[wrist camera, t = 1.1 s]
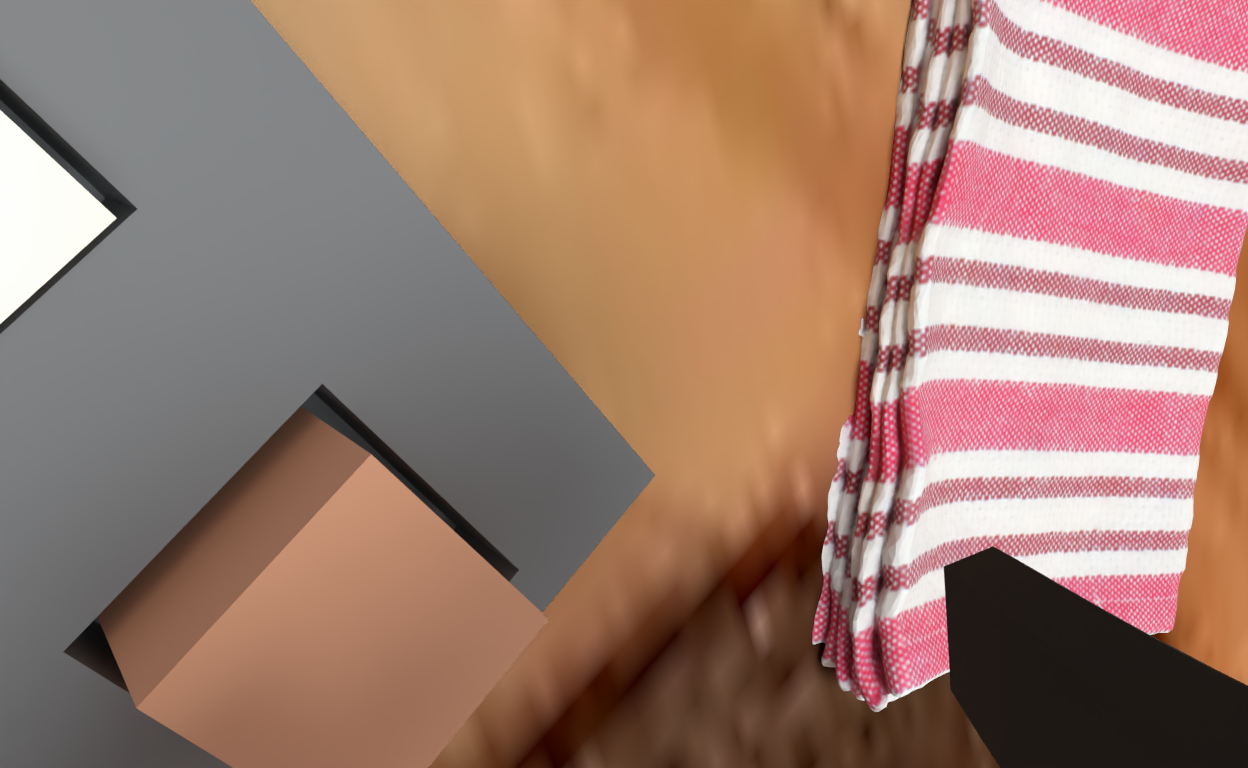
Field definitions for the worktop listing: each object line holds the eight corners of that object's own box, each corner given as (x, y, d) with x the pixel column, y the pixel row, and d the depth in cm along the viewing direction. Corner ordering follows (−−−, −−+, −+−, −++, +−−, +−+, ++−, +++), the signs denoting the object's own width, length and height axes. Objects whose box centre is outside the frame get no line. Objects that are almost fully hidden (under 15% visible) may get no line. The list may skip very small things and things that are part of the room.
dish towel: (783, 681, 29) (878, 741, 26) (916, -216, 25) (1044, -258, 22) (1114, 604, 39) (1209, 641, 36) (1247, -48, 35) (1364, -63, 32)
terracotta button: (297, 748, 17) (362, 847, 15) (97, 616, 15) (136, 708, 13) (464, 556, 19) (549, 619, 16) (300, 406, 16) (371, 454, 14)
